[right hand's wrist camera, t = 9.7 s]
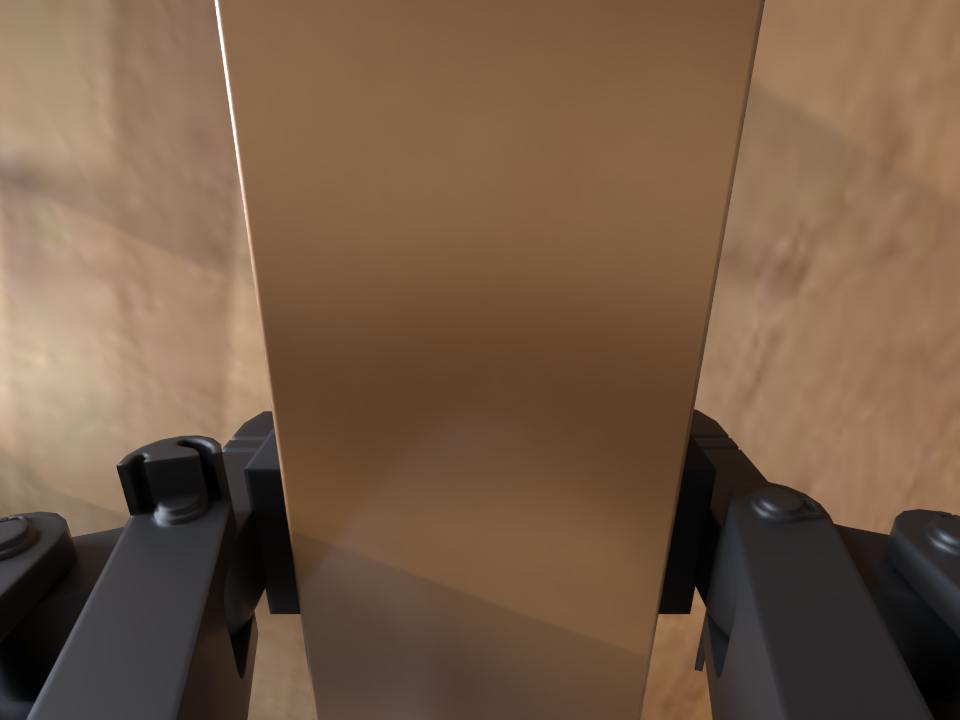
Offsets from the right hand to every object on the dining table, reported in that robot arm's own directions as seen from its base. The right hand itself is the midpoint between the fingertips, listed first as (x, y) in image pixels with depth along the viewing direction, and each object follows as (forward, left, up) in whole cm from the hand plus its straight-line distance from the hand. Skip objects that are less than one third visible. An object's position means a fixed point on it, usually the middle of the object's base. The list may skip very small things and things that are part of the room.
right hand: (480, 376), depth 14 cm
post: (+11, -19, -1) cm, 22 cm away
